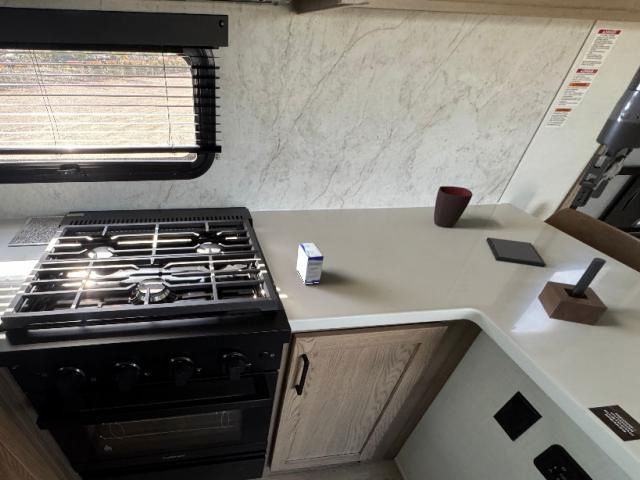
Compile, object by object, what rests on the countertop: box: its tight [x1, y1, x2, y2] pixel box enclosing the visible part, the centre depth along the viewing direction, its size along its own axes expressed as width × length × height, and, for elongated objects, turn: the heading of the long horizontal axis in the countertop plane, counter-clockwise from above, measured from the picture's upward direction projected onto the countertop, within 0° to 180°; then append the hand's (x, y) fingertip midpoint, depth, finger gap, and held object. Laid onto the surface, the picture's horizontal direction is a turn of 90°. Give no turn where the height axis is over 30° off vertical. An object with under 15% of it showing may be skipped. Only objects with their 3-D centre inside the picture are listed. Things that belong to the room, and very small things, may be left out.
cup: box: [433, 185, 474, 229], centre depth 121 cm, size 10×14×12 cm
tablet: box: [486, 237, 546, 268], centre depth 105 cm, size 12×14×1 cm
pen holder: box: [537, 280, 608, 326], centre depth 81 cm, size 9×9×5 cm
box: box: [296, 242, 325, 286], centre depth 93 cm, size 8×4×9 cm, turn 9°
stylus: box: [569, 257, 607, 298], centre depth 78 cm, size 2×2×14 cm
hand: (585, 201), depth 75 cm, fingers open, 8 cm apart
